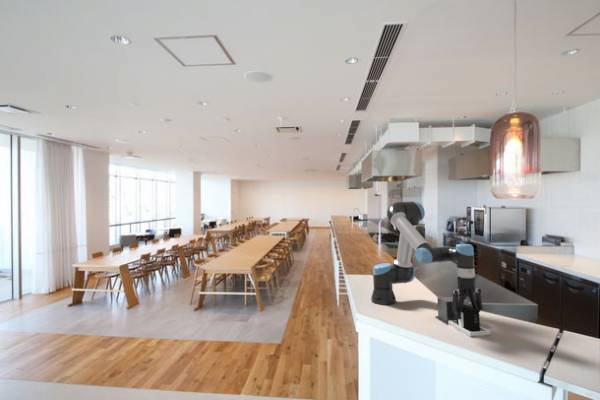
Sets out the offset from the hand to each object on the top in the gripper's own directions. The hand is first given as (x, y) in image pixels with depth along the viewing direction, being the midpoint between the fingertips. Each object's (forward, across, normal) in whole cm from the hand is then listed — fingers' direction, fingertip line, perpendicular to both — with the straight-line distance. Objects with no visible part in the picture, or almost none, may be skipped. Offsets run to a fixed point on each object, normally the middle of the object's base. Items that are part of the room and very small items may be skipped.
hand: (468, 325), depth 146 cm
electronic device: (+2, 0, 0) cm, 2 cm away
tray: (+2, 0, 0) cm, 2 cm away
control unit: (+2, +1, +13) cm, 13 cm away
